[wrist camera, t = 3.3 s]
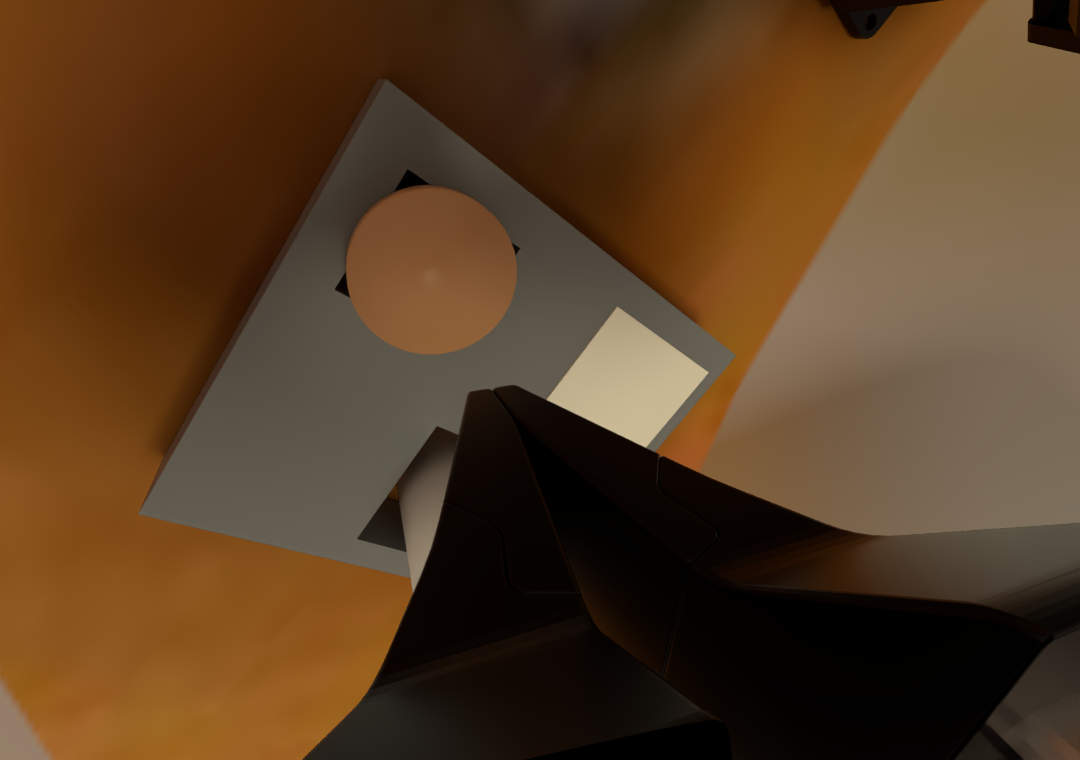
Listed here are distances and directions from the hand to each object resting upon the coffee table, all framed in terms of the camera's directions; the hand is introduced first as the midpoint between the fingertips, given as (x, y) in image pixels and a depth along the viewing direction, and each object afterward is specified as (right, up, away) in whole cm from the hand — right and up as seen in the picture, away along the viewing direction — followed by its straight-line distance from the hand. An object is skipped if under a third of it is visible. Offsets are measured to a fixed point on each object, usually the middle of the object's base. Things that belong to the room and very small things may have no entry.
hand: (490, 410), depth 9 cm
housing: (-2, 0, +12) cm, 12 cm away
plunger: (-3, +5, +9) cm, 11 cm away
